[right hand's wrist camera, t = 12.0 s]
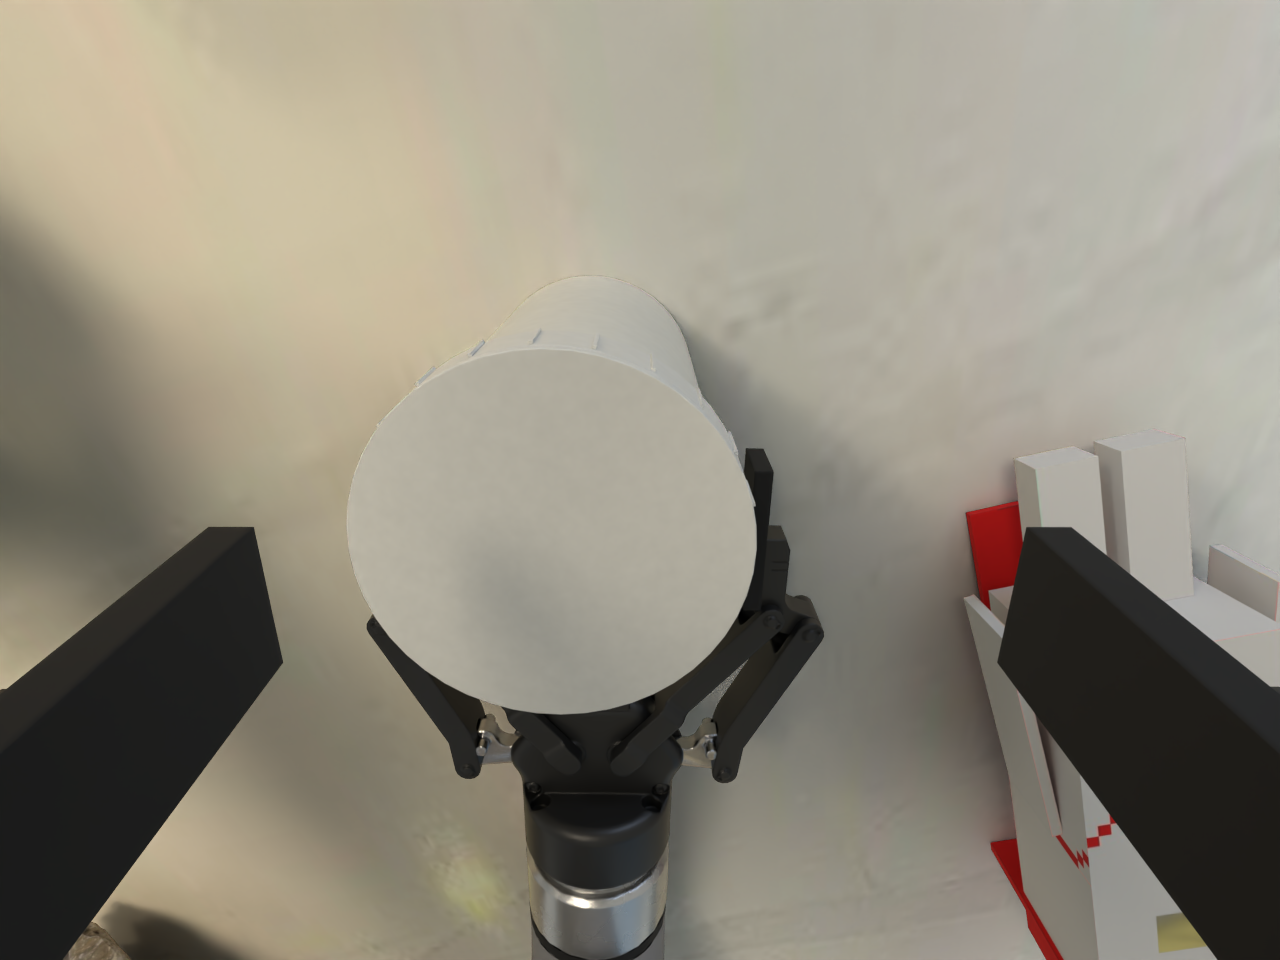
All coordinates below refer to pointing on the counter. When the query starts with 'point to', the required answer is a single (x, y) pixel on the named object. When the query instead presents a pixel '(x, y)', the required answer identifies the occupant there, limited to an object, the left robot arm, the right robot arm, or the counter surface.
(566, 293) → the jar
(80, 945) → the fossil
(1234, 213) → the counter surface
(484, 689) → the lid
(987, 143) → the counter surface
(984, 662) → the toy
